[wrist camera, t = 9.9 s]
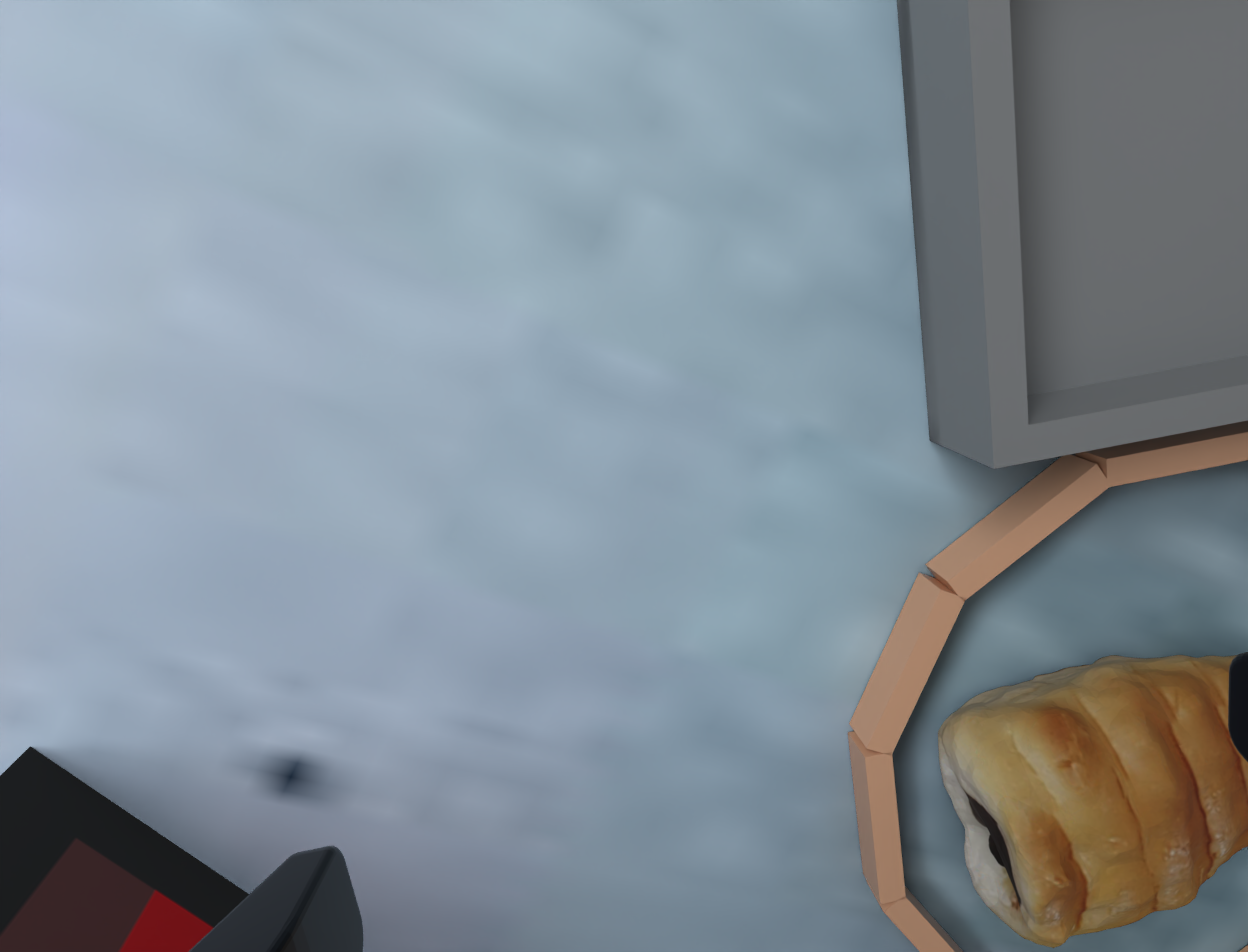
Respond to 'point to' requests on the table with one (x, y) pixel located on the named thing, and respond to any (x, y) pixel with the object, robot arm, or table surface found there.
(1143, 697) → the pastry
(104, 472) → the table surface
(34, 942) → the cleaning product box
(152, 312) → the table surface
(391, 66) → the table surface
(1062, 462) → the socket ring
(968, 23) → the bin
